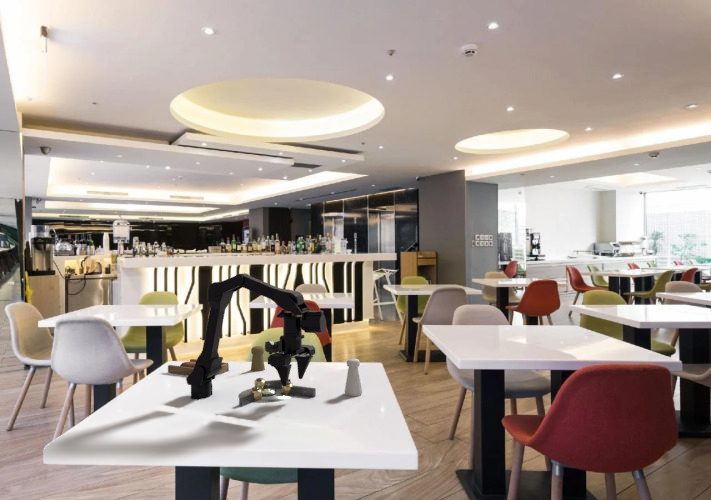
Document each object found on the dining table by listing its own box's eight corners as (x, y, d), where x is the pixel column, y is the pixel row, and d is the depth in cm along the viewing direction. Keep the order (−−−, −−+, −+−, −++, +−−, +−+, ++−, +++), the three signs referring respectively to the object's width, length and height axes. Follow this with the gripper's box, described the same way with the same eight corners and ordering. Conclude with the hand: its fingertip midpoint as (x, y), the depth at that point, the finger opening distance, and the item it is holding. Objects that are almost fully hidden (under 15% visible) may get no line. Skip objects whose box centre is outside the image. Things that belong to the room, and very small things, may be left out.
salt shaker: (360, 401, 148) (360, 361, 149) (343, 400, 149) (342, 360, 150) (363, 396, 154) (363, 357, 154) (347, 395, 155) (346, 356, 155)
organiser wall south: (209, 377, 181) (209, 369, 181) (207, 377, 181) (207, 369, 181) (228, 371, 191) (228, 363, 191) (226, 370, 191) (226, 363, 191)
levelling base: (266, 415, 136) (266, 398, 136) (216, 407, 144) (216, 390, 144) (307, 393, 157) (306, 378, 158) (261, 387, 165) (261, 373, 166)
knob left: (254, 391, 156) (254, 380, 156) (254, 388, 159) (254, 377, 159) (290, 388, 159) (290, 377, 159) (289, 385, 163) (289, 375, 163)
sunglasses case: (226, 370, 192) (221, 358, 189) (217, 382, 186) (211, 370, 183) (193, 366, 199) (187, 355, 196) (183, 378, 194) (176, 366, 191)
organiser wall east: (226, 370, 191) (226, 363, 191) (190, 366, 200) (190, 359, 200) (228, 370, 192) (228, 362, 192) (192, 365, 201) (192, 358, 201)
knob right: (279, 393, 153) (279, 383, 153) (285, 390, 156) (285, 380, 156) (311, 398, 147) (311, 387, 147) (317, 395, 151) (317, 384, 151)
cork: (267, 371, 189) (267, 345, 189) (262, 375, 183) (262, 347, 183) (253, 371, 190) (252, 344, 190) (248, 375, 184) (248, 347, 184)
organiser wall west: (205, 377, 180) (205, 370, 180) (167, 372, 188) (167, 365, 188) (207, 377, 181) (207, 369, 181) (170, 372, 190) (170, 364, 190)
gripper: (287, 326, 154) (287, 372, 154) (252, 335, 137) (252, 387, 137) (315, 328, 150) (316, 376, 149) (284, 337, 133) (284, 391, 133)
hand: (292, 382), depth 142 cm, fingers open, 9 cm apart
